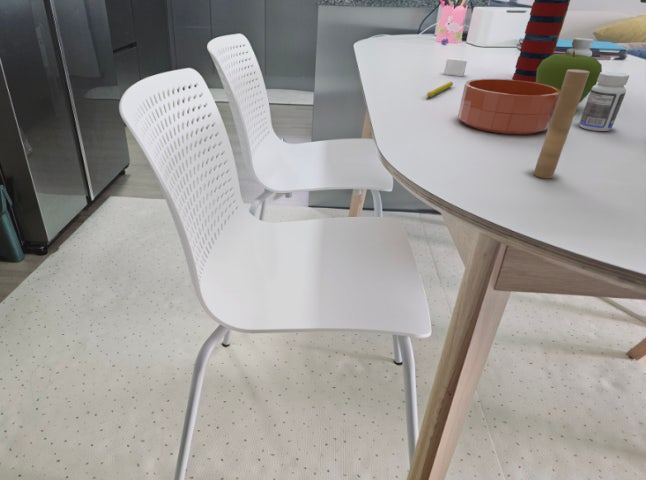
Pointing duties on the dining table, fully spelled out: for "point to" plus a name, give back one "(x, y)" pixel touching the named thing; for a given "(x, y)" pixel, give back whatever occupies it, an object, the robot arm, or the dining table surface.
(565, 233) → the dining table surface
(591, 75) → the apple
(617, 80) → the pill bottle
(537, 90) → the bowl
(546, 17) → the red striped curved tube
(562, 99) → the stirring stick
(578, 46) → the supplement bottle
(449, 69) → the eraser
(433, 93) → the pencil
